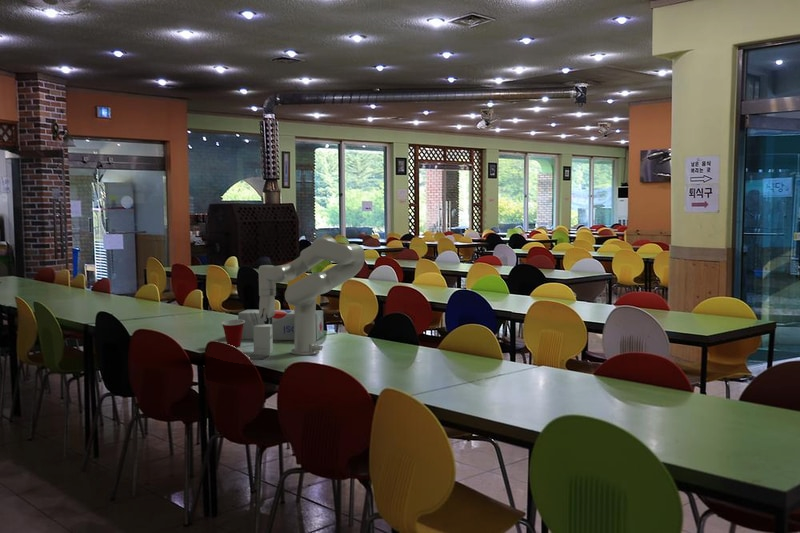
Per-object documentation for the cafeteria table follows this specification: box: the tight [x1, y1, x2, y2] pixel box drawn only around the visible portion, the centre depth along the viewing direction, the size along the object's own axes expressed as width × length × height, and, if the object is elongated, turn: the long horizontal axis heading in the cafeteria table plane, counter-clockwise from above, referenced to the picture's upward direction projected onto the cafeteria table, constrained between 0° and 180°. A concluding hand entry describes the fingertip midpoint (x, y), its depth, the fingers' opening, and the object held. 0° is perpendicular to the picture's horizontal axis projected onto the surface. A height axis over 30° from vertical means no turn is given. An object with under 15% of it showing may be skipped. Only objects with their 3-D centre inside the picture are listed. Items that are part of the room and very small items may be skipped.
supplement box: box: [253, 324, 274, 356], centre depth 337 cm, size 7×7×13 cm
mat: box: [248, 353, 270, 361], centre depth 328 cm, size 9×8×1 cm
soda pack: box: [237, 309, 324, 342], centre depth 376 cm, size 41×13×14 cm, turn 80°
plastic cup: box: [220, 319, 245, 348], centre depth 353 cm, size 11×11×12 cm
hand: (268, 332), depth 344 cm, fingers closed
